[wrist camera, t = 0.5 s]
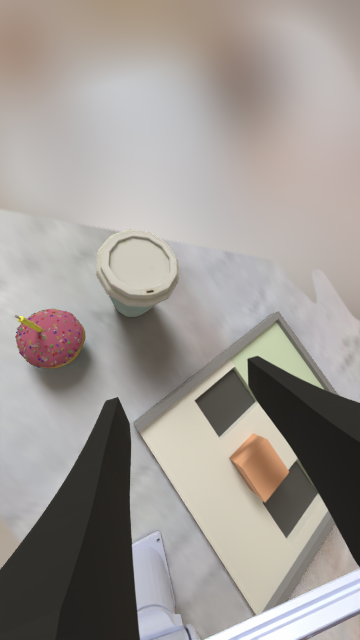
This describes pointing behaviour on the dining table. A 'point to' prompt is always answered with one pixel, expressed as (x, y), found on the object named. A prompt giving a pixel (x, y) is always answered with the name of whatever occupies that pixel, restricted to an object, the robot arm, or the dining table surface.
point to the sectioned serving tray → (223, 478)
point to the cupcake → (50, 338)
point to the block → (259, 466)
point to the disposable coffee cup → (136, 271)
